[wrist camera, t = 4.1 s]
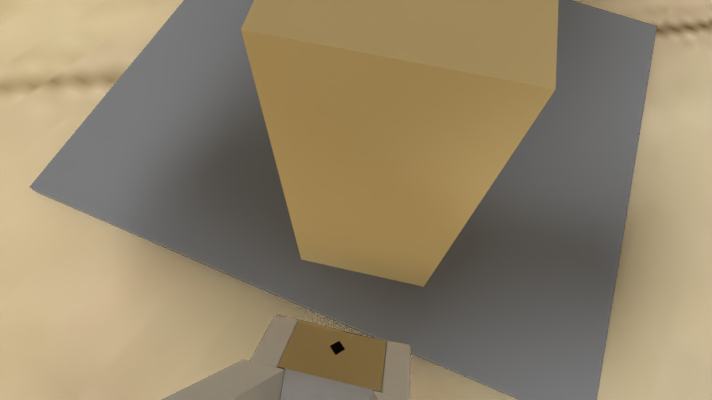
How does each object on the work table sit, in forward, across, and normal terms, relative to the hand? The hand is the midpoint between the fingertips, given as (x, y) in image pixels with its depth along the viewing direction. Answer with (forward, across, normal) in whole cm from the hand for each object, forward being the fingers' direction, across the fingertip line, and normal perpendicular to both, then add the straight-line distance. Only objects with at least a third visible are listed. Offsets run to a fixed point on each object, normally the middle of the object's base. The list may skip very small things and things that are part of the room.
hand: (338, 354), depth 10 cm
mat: (+14, +1, -4) cm, 15 cm away
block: (+10, 0, 0) cm, 10 cm away
